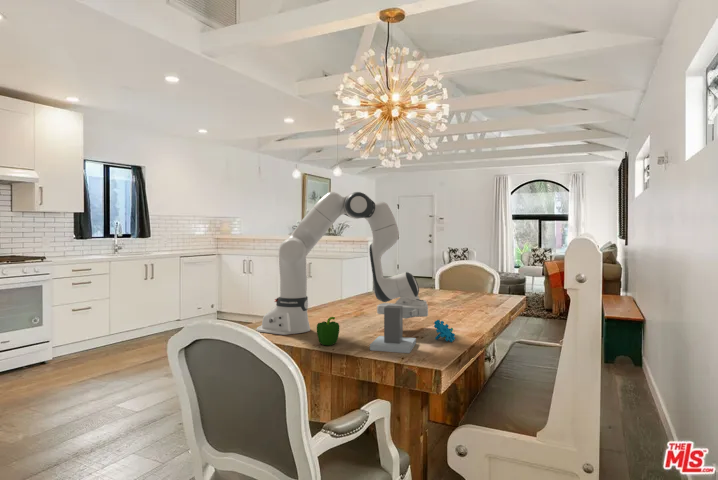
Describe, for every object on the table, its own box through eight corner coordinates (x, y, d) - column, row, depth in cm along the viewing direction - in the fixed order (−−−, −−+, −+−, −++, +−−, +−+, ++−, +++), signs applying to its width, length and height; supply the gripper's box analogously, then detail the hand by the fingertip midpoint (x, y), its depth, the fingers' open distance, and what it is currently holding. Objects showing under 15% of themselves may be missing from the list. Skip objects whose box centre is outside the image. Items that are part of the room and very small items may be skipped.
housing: (384, 342, 161) (384, 307, 160) (387, 338, 166) (387, 305, 166) (399, 343, 159) (399, 308, 159) (402, 340, 164) (402, 305, 164)
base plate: (369, 350, 158) (369, 331, 158) (379, 341, 171) (379, 323, 171) (409, 353, 154) (409, 334, 154) (415, 343, 167) (415, 326, 167)
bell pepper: (315, 347, 162) (315, 319, 162) (317, 341, 170) (317, 315, 170) (339, 347, 162) (339, 319, 162) (339, 341, 170) (339, 315, 170)
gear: (446, 340, 166) (431, 318, 171) (435, 349, 168) (421, 327, 174) (462, 339, 173) (447, 318, 179) (451, 348, 176) (438, 327, 182)
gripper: (381, 298, 188) (372, 303, 175) (430, 300, 183) (425, 305, 169) (381, 313, 188) (372, 319, 175) (430, 316, 183) (425, 322, 169)
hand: (399, 313), depth 172 cm, fingers open, 8 cm apart
